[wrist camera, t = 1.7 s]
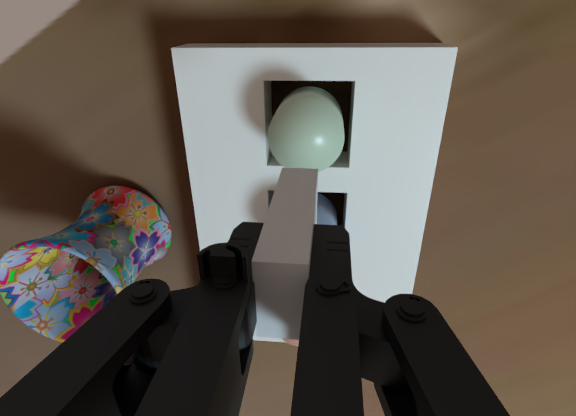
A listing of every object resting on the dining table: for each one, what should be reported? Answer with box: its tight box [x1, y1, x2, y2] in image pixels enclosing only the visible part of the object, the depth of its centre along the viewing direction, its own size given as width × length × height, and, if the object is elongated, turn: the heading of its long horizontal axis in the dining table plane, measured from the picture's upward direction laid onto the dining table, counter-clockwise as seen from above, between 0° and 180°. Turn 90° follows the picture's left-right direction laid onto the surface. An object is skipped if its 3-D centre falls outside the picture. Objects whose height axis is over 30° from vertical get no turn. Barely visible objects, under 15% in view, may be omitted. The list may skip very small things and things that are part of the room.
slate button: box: [317, 193, 337, 225], centre depth 29 cm, size 5×5×4 cm
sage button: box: [268, 86, 345, 172], centre depth 25 cm, size 5×5×4 cm
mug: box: [0, 186, 172, 342], centre depth 31 cm, size 12×9×11 cm
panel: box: [171, 43, 458, 342], centre depth 31 cm, size 18×26×4 cm
